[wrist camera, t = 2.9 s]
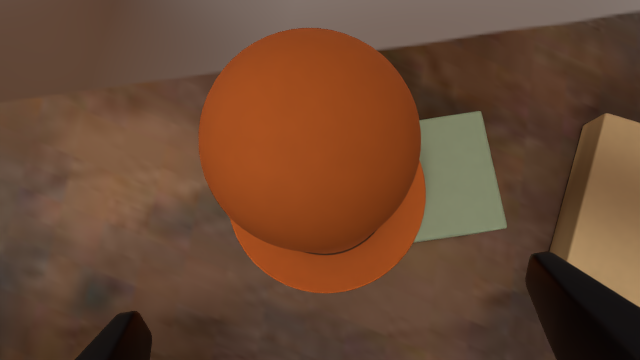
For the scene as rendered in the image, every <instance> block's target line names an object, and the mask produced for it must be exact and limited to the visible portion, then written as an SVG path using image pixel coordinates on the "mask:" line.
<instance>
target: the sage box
mask: <svg viewBox="0 0 640 360" xmlns="http://www.w3.org/2000/svg"><path fill="white" fill-rule="evenodd" d="M419 122H420V130H421V152H420V159H419V160H420V163H421V166H422V170H423V173H424V179H425V187H426V203H425V210H424V216H423V219H422V223H421V226H420V229H419V231H418V233H417V236H416V238H415V240H414V242H413V243H415V242H422V241H429V240H436V239H443V238H450V237H457V236H463V235H470V234H476V233H482V232H488V231H494V230H499V229H505V228H507V223H506V219H505V215H504V210H503V206H502V201H501V197H500V192H499V188H498V184H497V179H496V175H495V170H494V166H493V161H492V157H491V153H490V148H489V144H488V139H487V135H486V131H485V126H484V122H483V117H482V113H481V111H476V112H470V113H463V114H457V115H450V116H444V117H437V118H431V119H424V120H419Z"/></svg>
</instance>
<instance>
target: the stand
mask: <svg viewBox="0 0 640 360" xmlns="http://www.w3.org/2000/svg"><path fill="white" fill-rule="evenodd" d="M549 252H552V253H554V254H556V255H557V256H559V257H561V258H562V259H564V260H565V261H567V262H569V263H570V264H572V265H573V266H575V267H576V268H578V269H580V270H581V271H583V272H584V273H586V274H588V275H589V276H591V277H592V278H594V279H596V280H597V281H599V282H600V283H602V284H604V285H605V286H607V287H608V288H610V289H611V290H613V291H615V292H616V293H618V294H619V295H621V296H623V297H624V298H626V299H627V300H629V301H631V302H632V303H634V304H635V305H637V306H639V307H640V123H638V122H635V121H632V120H628V119H625V118H622V117H618V116H615V115H612V114H608V113H605V114H603V115H601V116H600V117H598V118H596V119H594V120H592V121H591V122H589V123H587V124H585V125H584V126H583V129H582V132H581V136H580V140H579V143H578V147H577V151H576V155H575V158H574V162H573V166H572V169H571V173H570V177H569V181H568V184H567V188H566V192H565V195H564V199H563V203H562V207H561V210H560V214H559V218H558V221H557V225H556V229H555V232H554V236H553V240H552V244H551V247H550V251H549Z"/></svg>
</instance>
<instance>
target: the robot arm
mask: <svg viewBox="0 0 640 360" xmlns="http://www.w3.org/2000/svg"><path fill="white" fill-rule="evenodd" d="M525 282H526V287H527V290H528V292H529V295H530V297H531V300H532V302H533V305H534V307H535V310H536V312H537V314H538V317H539V319H540V322H541V324H542V327H543V329H544V332H545V334H546V336H547V339H548V341H549V344H550V346H551V348H552V351H553V353H554V355H555V357H556V359H557V360H640V307H639V306H637V305H635V304H634V303H632V302H631V301H629V300H627V299H626V298H624V297H623V296H621V295H619V294H618V293H616V292H615V291H613V290H611V289H610V288H608V287H607V286H605V285H604V284H602V283H600V282H599V281H597V280H596V279H594V278H592V277H591V276H589V275H588V274H586V273H584V272H583V271H581V270H580V269H578V268H576V267H575V266H573V265H572V264H570V263H569V262H567V261H565V260H564V259H562V258H561V257H559V256H557V255H556V254H554V253H552V252H541V253H534V254H532V255H531V256H530V258H529V263H528V268H527V273H526V278H525ZM151 345H152V335H151V332H150V330H149V328H148V327H147V325H146V323H145V322H144V320H143V318H142V317H141V315H140V314H139V313H138V312H137V311H130V312H123V313H119V314H118V315H116V316H115V317H114V318H113V319H112V320H111V321H110V322H109V324H108V325H107V326H106V327H105V328H104V329H103V330H102V331H101V332H100V333H99V334H98V335H97V336H96V337H95V339H94V340H93V341H92V342H91V343H90V344H89V345H88V346H87V347H86V348H85V349H84V350H83V351H82V352H81V353H80V355H79V356H78V357H77V358H76V359H75V360H150V353H151Z"/></svg>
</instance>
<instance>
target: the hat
mask: <svg viewBox="0 0 640 360" xmlns="http://www.w3.org/2000/svg"><path fill="white" fill-rule="evenodd" d="M420 152H421V130H420V122H419V116H418V112H417V108H416V105H415V102H414V99H413V97H412V95H411V92H410V90H409V88H408V87H407V85H406V83H405V82H404V80H403V78H402V77H401V75H400V74H399V73H398V71H397V70H396V69H395V68H394V66H393V65H392V64H391V63H390V62H389V61H388V60H387V59H386V58H385V57H384V56H383V55H382V54H380V53H379V52H378V51H376V50H375V49H374V48H372V47H371V46H369V45H367V44H366V43H364V42H362V41H360V40H358V39H356V38H354V37H352V36H349V35H347V34H344V33H341V32H337V31H333V30H328V29H321V28H299V29H291V30H286V31H282V32H278V33H275V34H273V35H270V36H267V37H265V38H263V39H261V40H259V41H257V42H255V43H253V44H251V45H250V46H248V47H247V48H245V49H244V50H242V51H241V52H240V53H239V54H238V55H237V56H235V57H234V58H233V59H232V61H230V62H229V63H228V64H227V66H226V67H225V68H224V69H223V70H222V72H221V73H220V74H219V76H218V77H217V79H216V80H215V82H214V84H213V86H212V88H211V90H210V91H209V93H208V96H207V98H206V101H205V103H204V106H203V110H202V114H201V118H200V125H199V154H200V160H201V166H202V169H203V172H204V176H205V179H206V181H207V183H208V185H209V188H210V190H211V192H212V194H213V195H214V197H215V199H216V200H217V202H218V203H219V205H220V206H221V208H222V209H223V210H224V211H225V212H226V214H227V215H228V216H229V217H230V220H231V223H232V227H233V230H234V232H235V234H236V236H237V239H238V241H239V243H240V244H241V246H242V247H243V249H244V251H245V252H246V254H247V255H248V256H249V257H250V258H251V260H252V261H253V262H254V263H255V264H256V265H257V266H258V267H259V268H260V269H262V270H263V271H264V272H265V273H267V274H268V275H269V276H271V277H272V278H274V279H275V280H277V281H279V282H281V283H283V284H285V285H287V286H290V287H293V288H296V289H299V290H303V291H308V292H313V293H338V292H344V291H349V290H353V289H356V288H359V287H362V286H365V285H367V284H369V283H371V282H373V281H375V280H377V279H378V278H380V277H381V276H383V275H384V274H386V273H387V272H388V271H390V270H391V269H392V268H393V267H394V266H395V265H396V264H397V263H398V262H399V261H400V260H401V259H402V258H403V256H404V255H405V254H406V253H407V251H408V250H409V248H410V247H411V245H412V243H413V242H414V240H415V238H416V236H417V233H418V231H419V229H420V226H421V223H422V219H423V216H424V210H425V203H426V187H425V179H424V173H423V170H422V166H421V163H420V160H419V159H420Z"/></svg>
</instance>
